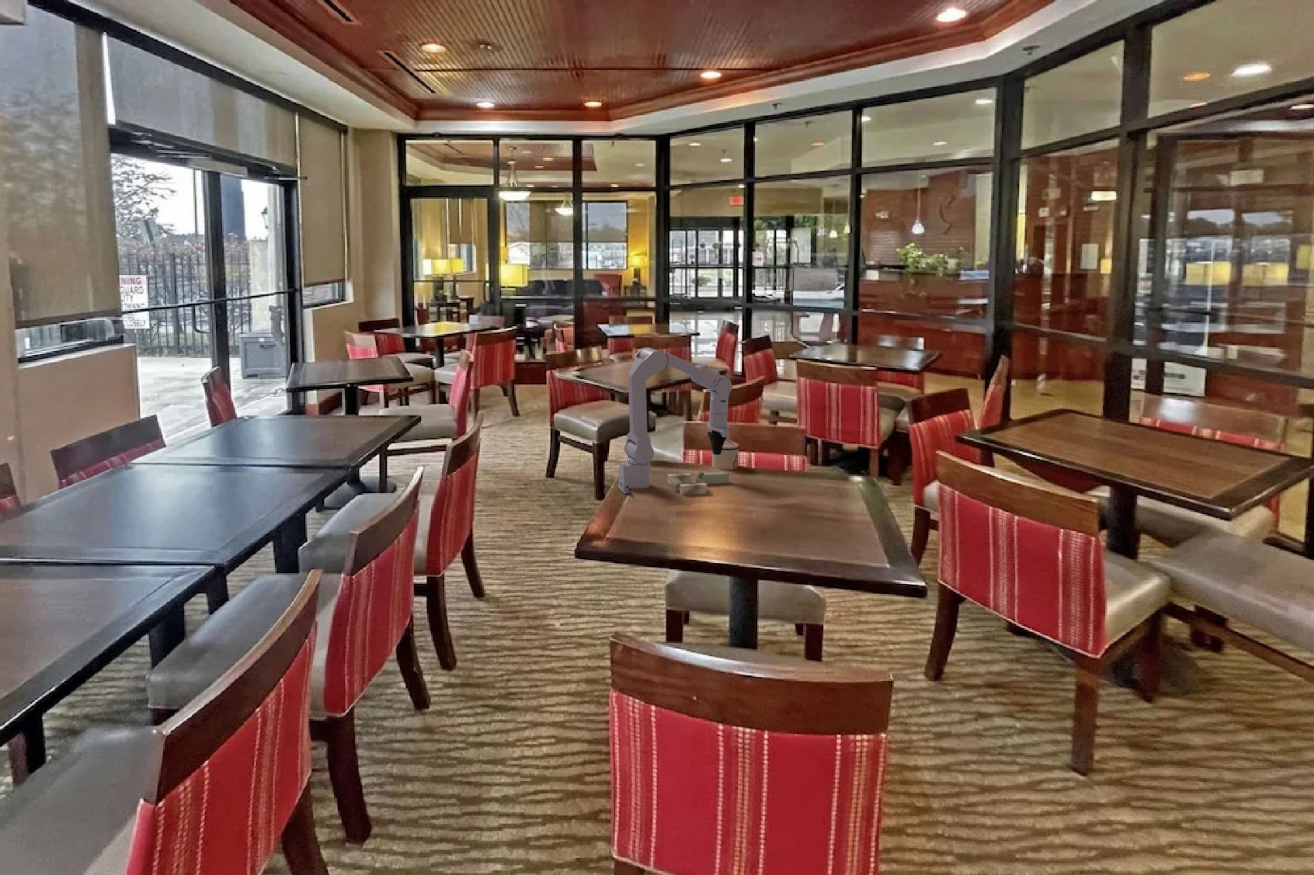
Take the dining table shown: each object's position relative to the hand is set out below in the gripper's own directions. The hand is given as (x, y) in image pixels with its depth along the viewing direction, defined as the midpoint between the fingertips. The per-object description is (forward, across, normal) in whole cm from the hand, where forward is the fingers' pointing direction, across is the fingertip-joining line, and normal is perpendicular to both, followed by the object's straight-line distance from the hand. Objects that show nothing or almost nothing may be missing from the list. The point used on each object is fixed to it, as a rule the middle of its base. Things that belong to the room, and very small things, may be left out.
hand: (716, 454), depth 289 cm
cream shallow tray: (+9, -9, +11) cm, 17 cm away
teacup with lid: (+10, +15, -9) cm, 20 cm away
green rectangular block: (+8, -5, +3) cm, 10 cm away
